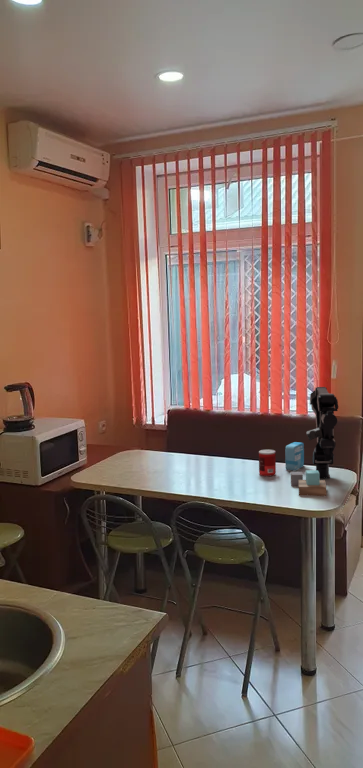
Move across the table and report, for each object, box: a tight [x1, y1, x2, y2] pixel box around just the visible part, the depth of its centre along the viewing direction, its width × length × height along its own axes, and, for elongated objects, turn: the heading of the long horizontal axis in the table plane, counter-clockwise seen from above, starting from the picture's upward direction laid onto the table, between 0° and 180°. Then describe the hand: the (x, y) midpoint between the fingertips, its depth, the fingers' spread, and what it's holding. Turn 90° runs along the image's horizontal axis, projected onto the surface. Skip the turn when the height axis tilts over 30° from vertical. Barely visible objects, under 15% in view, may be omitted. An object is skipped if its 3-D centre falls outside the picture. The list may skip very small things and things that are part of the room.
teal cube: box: [305, 469, 321, 485], centre depth 243 cm, size 5×5×5 cm
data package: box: [284, 441, 305, 472], centre depth 282 cm, size 12×4×12 cm, turn 145°
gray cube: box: [290, 471, 304, 487], centre depth 255 cm, size 5×5×5 cm
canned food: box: [258, 449, 277, 477], centre depth 273 cm, size 8×8×11 cm
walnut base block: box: [298, 479, 327, 497], centre depth 244 cm, size 11×11×4 cm
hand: (326, 458), depth 252 cm, fingers open, 9 cm apart
